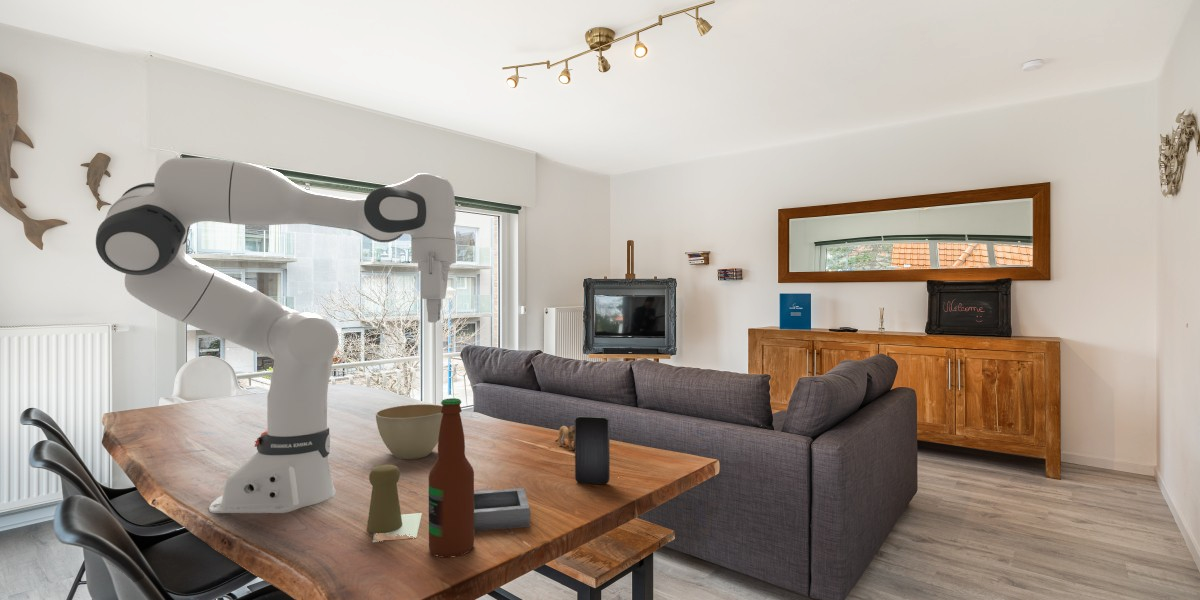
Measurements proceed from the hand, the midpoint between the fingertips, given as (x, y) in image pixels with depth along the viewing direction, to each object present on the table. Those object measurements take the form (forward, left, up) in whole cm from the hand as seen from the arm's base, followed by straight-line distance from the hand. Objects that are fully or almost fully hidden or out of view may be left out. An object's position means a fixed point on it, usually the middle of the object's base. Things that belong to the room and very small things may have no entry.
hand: (434, 321), depth 117 cm
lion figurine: (+34, +37, -37) cm, 63 cm away
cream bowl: (-8, +37, -37) cm, 53 cm away
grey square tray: (+12, -12, -37) cm, 41 cm away
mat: (-8, -13, -37) cm, 40 cm away
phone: (+34, +4, -37) cm, 51 cm away
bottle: (+4, -24, -37) cm, 45 cm away
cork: (-8, -12, -37) cm, 40 cm away
